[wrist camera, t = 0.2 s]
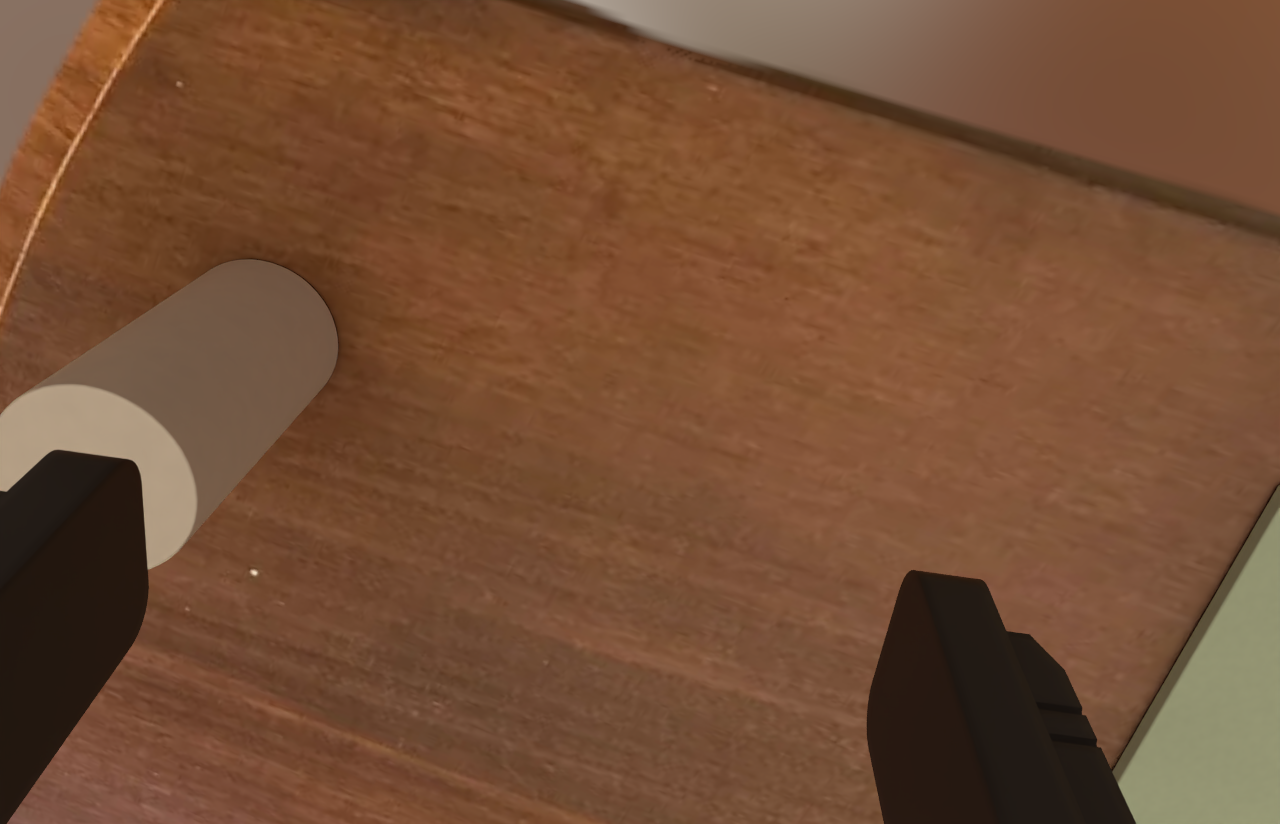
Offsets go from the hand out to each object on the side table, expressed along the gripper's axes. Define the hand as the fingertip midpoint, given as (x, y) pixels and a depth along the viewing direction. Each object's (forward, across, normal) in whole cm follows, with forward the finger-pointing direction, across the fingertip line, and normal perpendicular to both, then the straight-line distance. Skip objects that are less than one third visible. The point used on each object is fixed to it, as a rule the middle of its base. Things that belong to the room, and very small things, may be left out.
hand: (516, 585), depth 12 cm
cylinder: (+19, +9, +6) cm, 22 cm away
